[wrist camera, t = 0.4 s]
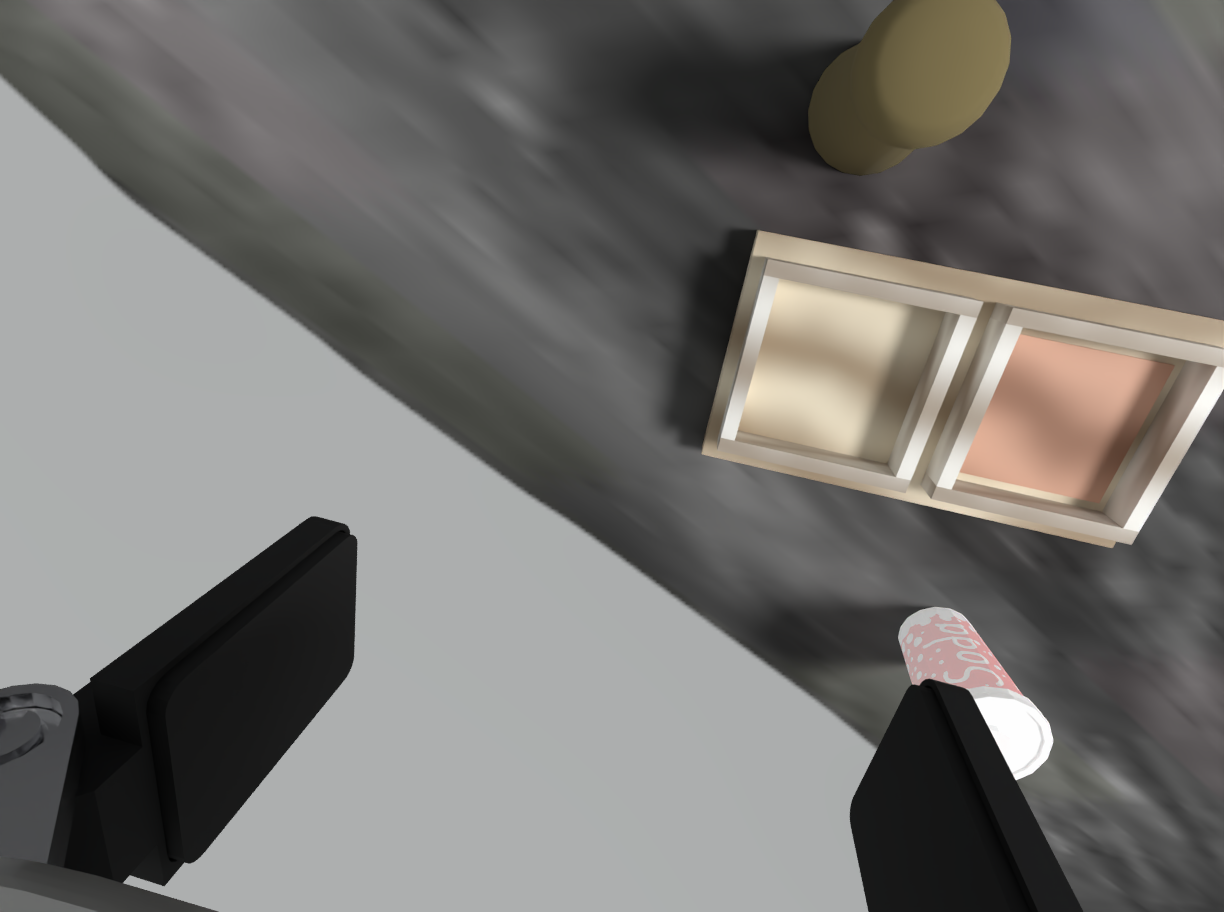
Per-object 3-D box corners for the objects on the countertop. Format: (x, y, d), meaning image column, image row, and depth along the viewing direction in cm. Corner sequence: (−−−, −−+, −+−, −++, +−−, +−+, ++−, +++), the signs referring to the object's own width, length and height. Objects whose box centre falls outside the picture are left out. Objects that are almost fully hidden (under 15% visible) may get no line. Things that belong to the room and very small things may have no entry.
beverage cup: (1002, 611, 39) (1137, 803, 27) (962, 683, 42) (1068, 891, 29) (906, 586, 40) (993, 763, 27) (872, 658, 42) (937, 853, 29)
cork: (922, 176, 31) (1015, 158, 21) (800, 175, 32) (835, 157, 22) (947, 37, 29) (1065, -57, 19) (816, 40, 30) (863, -48, 20)
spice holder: (757, 229, 34) (760, 231, 30) (1219, 319, 32) (1275, 331, 28) (702, 445, 39) (700, 466, 36) (1097, 535, 37) (1133, 566, 33)
